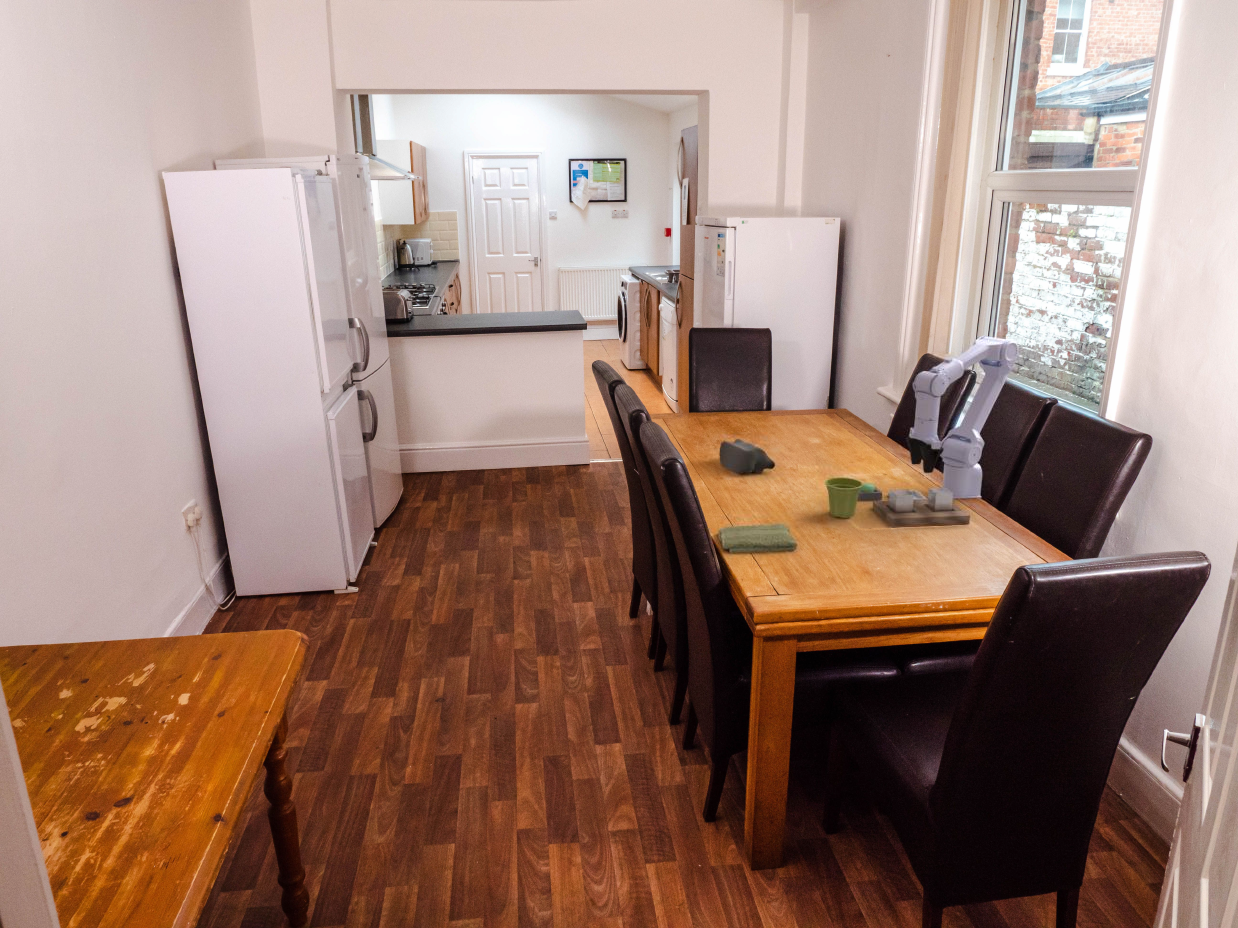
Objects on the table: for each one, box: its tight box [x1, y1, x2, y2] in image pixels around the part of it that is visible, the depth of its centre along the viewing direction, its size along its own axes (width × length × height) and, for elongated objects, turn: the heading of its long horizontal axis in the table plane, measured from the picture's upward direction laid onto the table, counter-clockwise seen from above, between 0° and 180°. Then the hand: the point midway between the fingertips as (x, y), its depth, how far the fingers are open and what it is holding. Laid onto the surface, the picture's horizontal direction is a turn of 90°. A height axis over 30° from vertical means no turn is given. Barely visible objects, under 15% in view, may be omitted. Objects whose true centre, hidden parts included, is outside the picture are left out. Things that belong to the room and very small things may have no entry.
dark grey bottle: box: [719, 438, 776, 474], centre depth 264 cm, size 18×11×8 cm, turn 26°
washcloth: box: [717, 522, 798, 554], centre depth 207 cm, size 13×18×3 cm
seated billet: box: [927, 487, 954, 512], centre depth 222 cm, size 4×4×7 cm
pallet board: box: [871, 498, 971, 529], centre depth 222 cm, size 20×13×2 cm, turn 95°
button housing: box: [858, 486, 883, 502], centre depth 237 cm, size 6×6×2 cm
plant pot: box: [824, 477, 863, 519], centre depth 224 cm, size 9×9×9 cm
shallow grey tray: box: [887, 489, 928, 500], centre depth 235 cm, size 8×7×2 cm
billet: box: [888, 488, 914, 513], centre depth 221 cm, size 4×4×7 cm
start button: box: [861, 482, 876, 492], centre depth 237 cm, size 4×4×3 cm
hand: (921, 468), depth 230 cm, fingers open, 7 cm apart
